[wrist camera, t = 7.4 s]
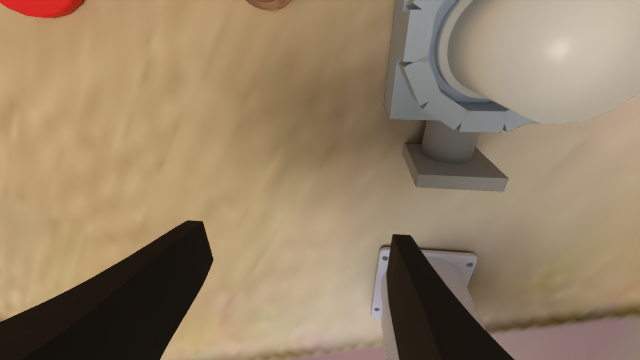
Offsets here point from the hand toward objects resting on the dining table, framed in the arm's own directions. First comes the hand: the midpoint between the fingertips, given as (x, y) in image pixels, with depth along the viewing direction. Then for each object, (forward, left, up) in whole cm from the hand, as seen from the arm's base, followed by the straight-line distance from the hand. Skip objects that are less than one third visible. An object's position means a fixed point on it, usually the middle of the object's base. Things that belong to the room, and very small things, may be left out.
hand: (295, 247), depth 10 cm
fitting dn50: (+7, -8, -7) cm, 13 cm away
